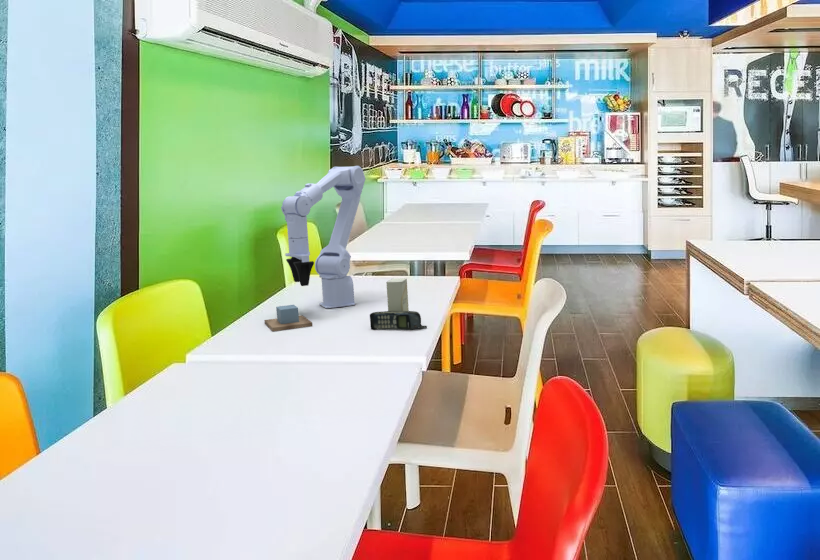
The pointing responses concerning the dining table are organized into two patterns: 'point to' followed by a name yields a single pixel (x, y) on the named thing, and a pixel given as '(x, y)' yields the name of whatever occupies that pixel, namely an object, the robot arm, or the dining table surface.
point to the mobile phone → (395, 320)
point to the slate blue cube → (287, 314)
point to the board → (288, 324)
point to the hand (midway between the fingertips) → (301, 283)
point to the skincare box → (397, 294)
